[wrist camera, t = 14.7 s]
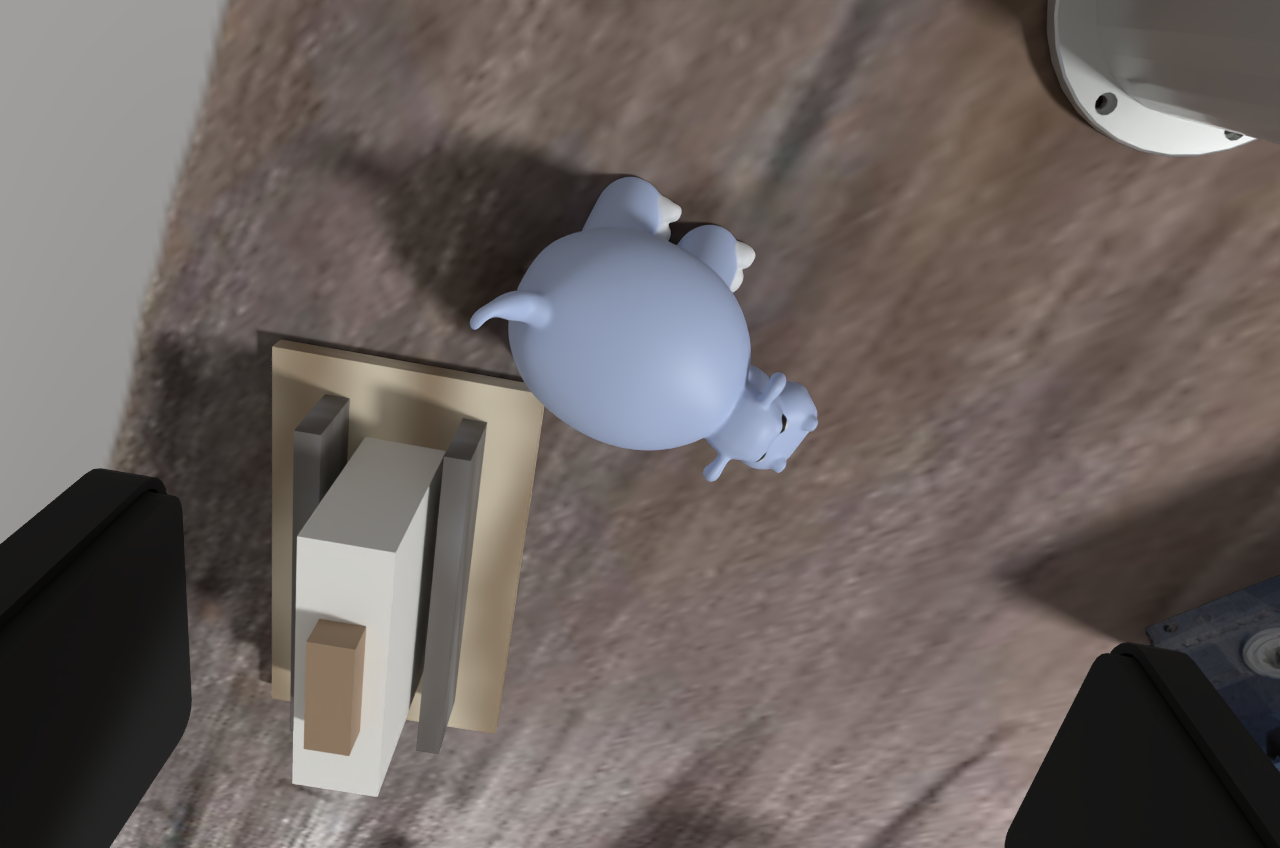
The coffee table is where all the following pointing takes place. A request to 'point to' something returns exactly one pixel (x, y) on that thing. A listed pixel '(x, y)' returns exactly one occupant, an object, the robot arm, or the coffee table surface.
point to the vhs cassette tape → (1236, 654)
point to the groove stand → (468, 512)
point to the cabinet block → (363, 614)
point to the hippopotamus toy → (650, 337)
